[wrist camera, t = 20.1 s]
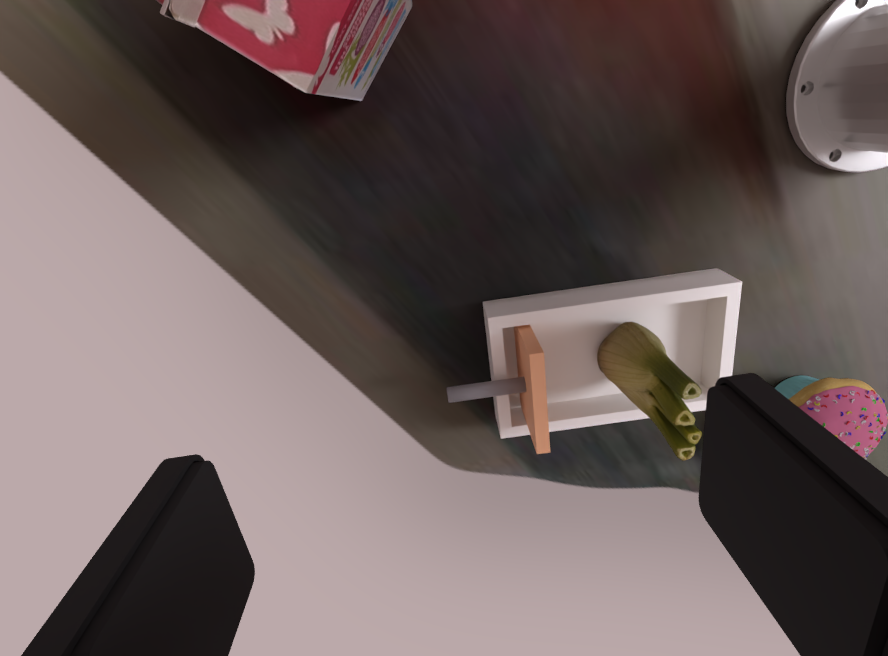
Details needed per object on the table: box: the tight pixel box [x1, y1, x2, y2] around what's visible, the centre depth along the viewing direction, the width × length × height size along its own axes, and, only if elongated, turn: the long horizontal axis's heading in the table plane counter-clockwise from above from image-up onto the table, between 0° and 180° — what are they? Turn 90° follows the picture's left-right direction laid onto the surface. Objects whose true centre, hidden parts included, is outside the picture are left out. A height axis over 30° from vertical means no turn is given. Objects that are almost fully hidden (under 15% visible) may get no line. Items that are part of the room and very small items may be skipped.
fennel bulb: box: [597, 322, 702, 461], centre depth 37 cm, size 6×5×12 cm
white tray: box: [482, 268, 742, 439], centre depth 41 cm, size 19×11×4 cm, turn 98°
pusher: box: [447, 324, 550, 454], centre depth 39 cm, size 7×8×7 cm
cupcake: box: [775, 376, 888, 459], centre depth 40 cm, size 9×8×12 cm
